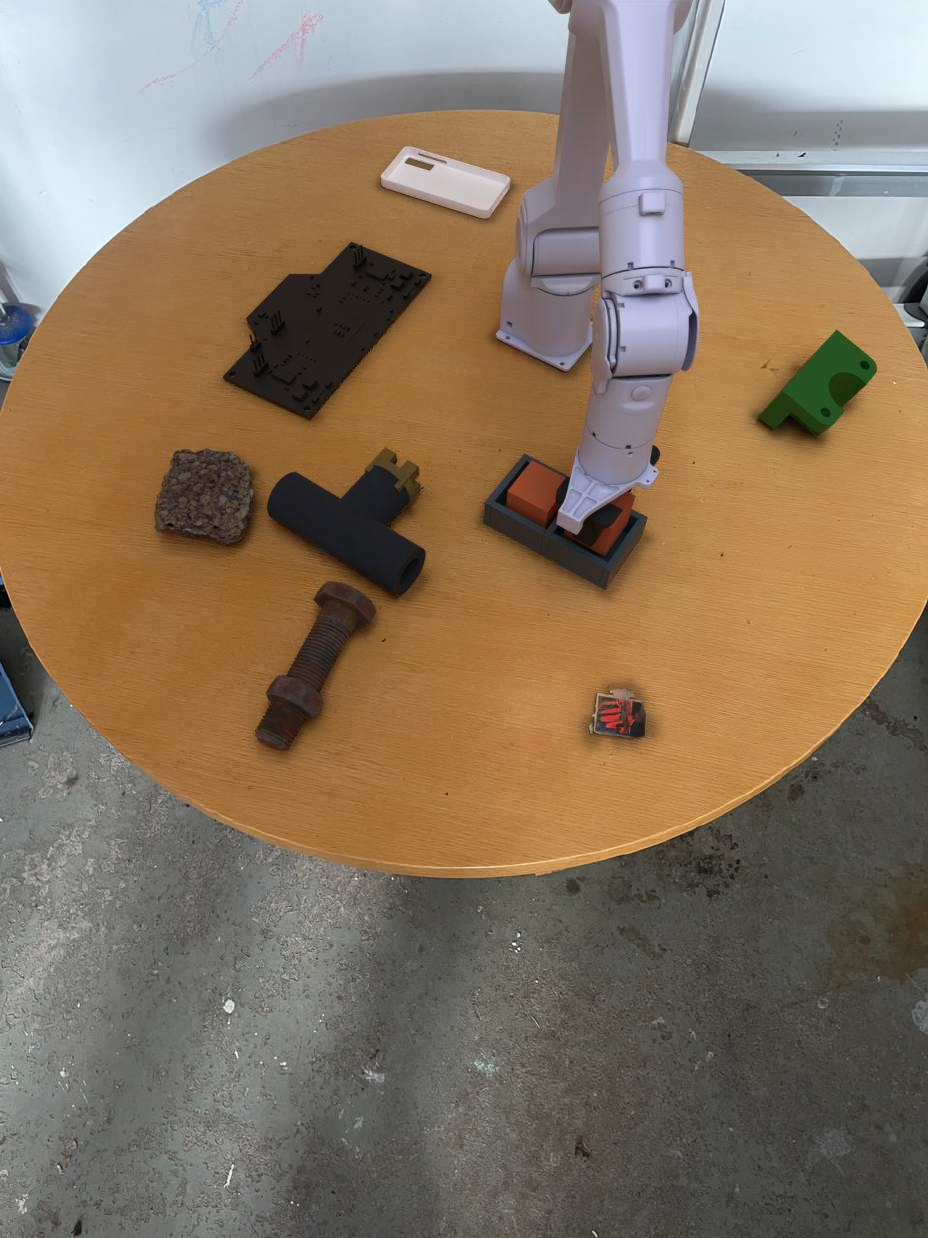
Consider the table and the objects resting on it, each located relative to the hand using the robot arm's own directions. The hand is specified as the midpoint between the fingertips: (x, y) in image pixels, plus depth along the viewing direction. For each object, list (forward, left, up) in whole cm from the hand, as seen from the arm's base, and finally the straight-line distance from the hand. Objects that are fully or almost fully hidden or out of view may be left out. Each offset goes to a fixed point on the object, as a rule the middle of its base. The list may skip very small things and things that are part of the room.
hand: (597, 520), depth 80 cm
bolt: (-13, -26, -4) cm, 30 cm away
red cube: (0, 0, -1) cm, 1 cm away
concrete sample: (-33, -17, -4) cm, 38 cm away
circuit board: (-40, +9, -4) cm, 41 cm away
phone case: (-42, +37, -4) cm, 56 cm away
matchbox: (+11, -14, -4) cm, 18 cm away
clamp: (+11, +28, -4) cm, 30 cm away
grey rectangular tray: (-3, 0, -4) cm, 5 cm away
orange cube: (-6, 0, -4) cm, 7 cm away
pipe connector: (-19, -10, -4) cm, 22 cm away
